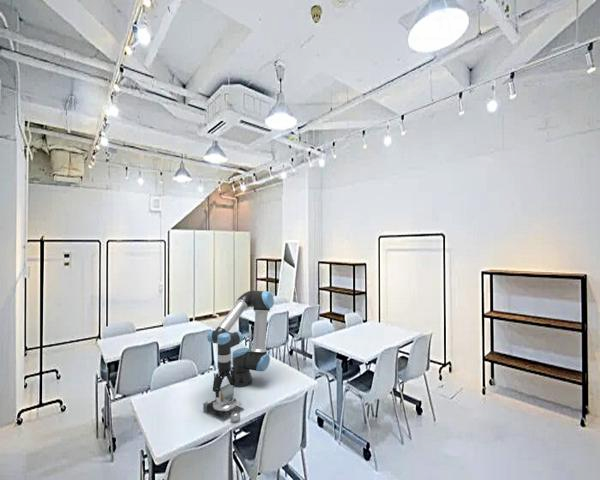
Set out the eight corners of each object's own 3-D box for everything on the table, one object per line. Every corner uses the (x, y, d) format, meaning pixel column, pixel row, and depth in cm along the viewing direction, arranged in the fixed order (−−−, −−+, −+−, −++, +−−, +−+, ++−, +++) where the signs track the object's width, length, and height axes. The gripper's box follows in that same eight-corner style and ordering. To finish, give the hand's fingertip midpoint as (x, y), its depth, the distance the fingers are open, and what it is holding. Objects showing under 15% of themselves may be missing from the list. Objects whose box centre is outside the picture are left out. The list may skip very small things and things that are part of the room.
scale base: (223, 401, 205) (223, 392, 205) (243, 409, 194) (243, 400, 194) (203, 411, 193) (203, 402, 193) (223, 421, 182) (223, 411, 182)
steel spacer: (235, 417, 186) (235, 410, 186) (242, 419, 183) (241, 412, 183) (229, 421, 182) (229, 414, 182) (235, 424, 179) (235, 416, 179)
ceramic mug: (215, 399, 192) (215, 386, 192) (227, 394, 198) (227, 382, 198) (225, 406, 185) (225, 392, 185) (237, 401, 190) (237, 387, 190)
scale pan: (226, 399, 202) (226, 395, 202) (242, 406, 194) (242, 401, 194) (207, 409, 191) (207, 404, 191) (223, 417, 183) (223, 412, 183)
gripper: (233, 354, 203) (234, 390, 203) (205, 365, 186) (205, 404, 186) (242, 356, 199) (242, 393, 199) (213, 367, 181) (214, 408, 181)
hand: (224, 399), depth 192 cm, fingers closed on ceramic mug, 9 cm apart
